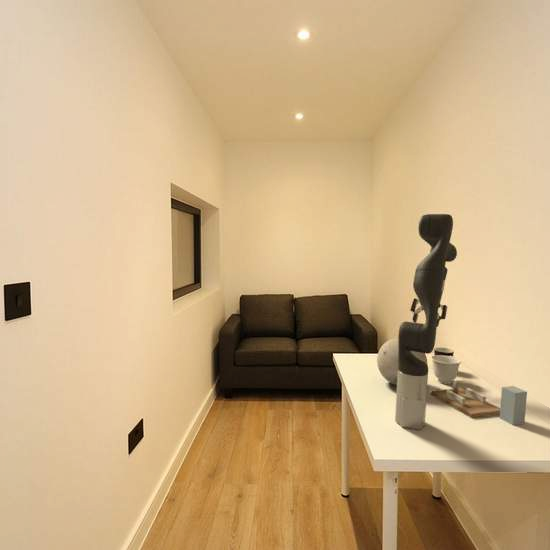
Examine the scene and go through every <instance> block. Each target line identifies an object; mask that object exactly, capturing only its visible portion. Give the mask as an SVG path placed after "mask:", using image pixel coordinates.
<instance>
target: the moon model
mask: <svg viewBox="0 0 550 550" xmlns="http://www.w3.org/2000/svg"><path fill="white" fill-rule="evenodd" d="M411 352H412V354H413V355H414V356H415V357H417V358H418V359H420V360H422V361H423V362H425V363H426V364H427V365H428V358H427V355H426V353H420V352H415V351H411ZM376 363H377V368H378V371H379V372H380V375H381V376H382V377H383V378H384V379H385V380H386V381H387V382H389V383H390V384H392V385H395V386H397V378H398V337H395V338H394V337H393V338H391V339H389V340H387V341H386V342H384V343H383V344H382V345H381V346H380V348H379V351H378V352H377V357H376Z"/></svg>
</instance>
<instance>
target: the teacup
mask: <svg viewBox="0 0 550 550" xmlns="http://www.w3.org/2000/svg"><path fill="white" fill-rule="evenodd" d="M430 358H431V360H432V367H433V368H432V369H433V374H434V376H435V377H436V378H437V382H439V383H442V384H444V385H445V384H447V385H450V383H451V384H453V382H452V381H455V379H457V377H458V373H459V368H460V365H461V364H462V361H461V360H460V359H459V358H457V357H454V355H453V356H444V355H432V356H431V357H430Z"/></svg>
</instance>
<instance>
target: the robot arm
mask: <svg viewBox="0 0 550 550" xmlns="http://www.w3.org/2000/svg"><path fill="white" fill-rule="evenodd" d="M453 227H454V219H453V216H452V215H451V214H447V213H437V214H436V213H434V214H433V213H432V214H431V213H429V214H428V213H427V214H424V215H422V216H420V219H419V222H418V234H419V237H420V238H421V239H422V240H423V241H424V242H425V243H427V244H428V245H429V246H430V250H429V254H427V255H426V256H425V257H424V258H423V259H422V260H421V261H420V263H418V265H417V266H416V269H415V272H414V277H413V284H412V287H413V291H414V292H415V295H416V297H417V298H413V299H412V300H413V301H412V304H411V307H410V309H409V310H410V312H412V313H413V317H412V318H411V319H412V321H403V322H401V324H400V326H399V329H398V337H397V338H398V378H397V385H396V394H395V395H396V398H395V400H396V401H395V415H394V416H395V418H394V420H395V422H396V423H397V424H398V425H400V426H401V428H408V429H414V430H421V431H422V430H423V428H424V427H425V425H426V411H427V410H426V409H427V398H428V395H427V394H428V384H429V383H428V381H429V380H428V378H429V365H428V363H427V364H426V363H425V362H423V361H422V360H420V359H418V358H417V357H415V356H414V355H413V354H412V352H411V351H415V352H420V353H425V354H428V355H429V354H431V353H432V352H433V351H434V348H435V345H436V340H437V339H436V336H437V330H438V329H437V328H438V327H439V326H440V325H439V324H440V321H441V320H445V319H446V316H447V311H448V305H447V304H441V300H442V298H443V292H444V289H445V282H446V278H447V275H448V271H449V270H448V268H447V267H446V265H447V264H446V263H450V262H453V261H455V259H456V258H457V255H458V250H457V247H456V246H455V245H454V244H452V243H451V237H452V233H453ZM419 304H420V306H419V307H417V305H419ZM416 308H417V309H416ZM439 308H440V310H441V315H440V313H439ZM421 312H424V315H425V323H420V322H417V321H418V318H419V313H421Z"/></svg>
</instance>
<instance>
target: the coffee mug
mask: <svg viewBox="0 0 550 550" xmlns="http://www.w3.org/2000/svg"><path fill="white" fill-rule="evenodd" d="M433 351H434V352H433V353H434V355H433V356H435V355H444V356H453V357H454V353H455V351H454V350H453V349H451V348H447V347H434V349H433Z"/></svg>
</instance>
